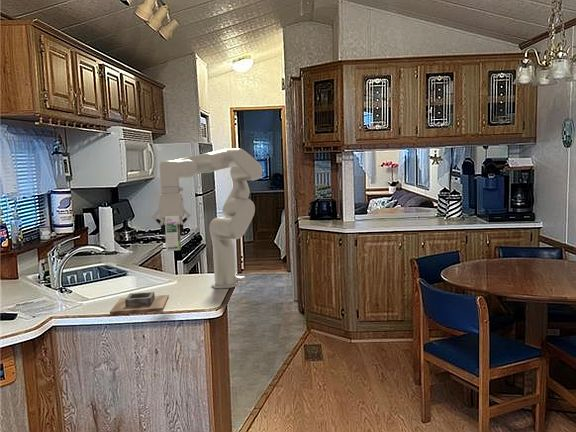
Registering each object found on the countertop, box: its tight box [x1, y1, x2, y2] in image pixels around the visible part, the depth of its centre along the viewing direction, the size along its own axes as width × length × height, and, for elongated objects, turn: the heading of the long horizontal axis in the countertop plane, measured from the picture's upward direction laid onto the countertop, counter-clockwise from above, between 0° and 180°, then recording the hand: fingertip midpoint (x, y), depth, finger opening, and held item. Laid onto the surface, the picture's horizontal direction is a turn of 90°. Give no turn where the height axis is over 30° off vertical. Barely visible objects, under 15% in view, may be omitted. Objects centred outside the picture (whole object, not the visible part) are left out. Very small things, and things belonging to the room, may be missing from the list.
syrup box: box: [164, 216, 182, 252], centre depth 216 cm, size 6×6×14 cm
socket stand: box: [109, 291, 170, 316], centre depth 212 cm, size 20×20×4 cm
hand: (172, 233), depth 216 cm, fingers closed on syrup box, 6 cm apart
